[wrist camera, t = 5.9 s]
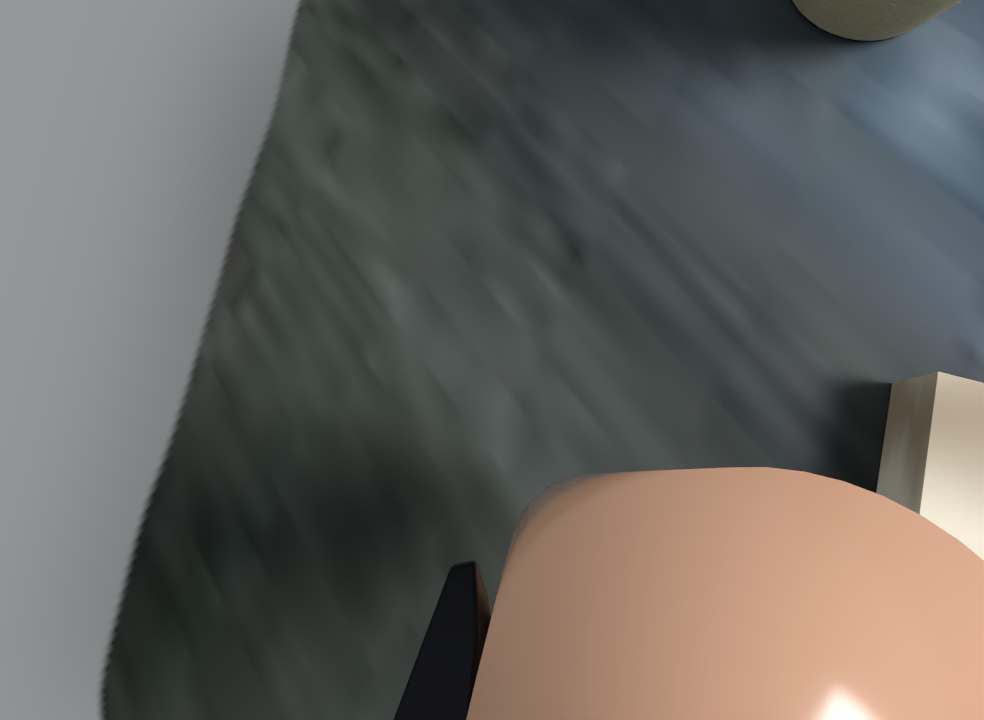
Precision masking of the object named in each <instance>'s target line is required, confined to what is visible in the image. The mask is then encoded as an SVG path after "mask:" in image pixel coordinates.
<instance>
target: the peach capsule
mask: <svg viewBox="0 0 984 720" xmlns="http://www.w3.org/2000/svg"><path fill="white" fill-rule="evenodd" d="M466 720H984V560H982V559H981V558H980V557H979V556H978V555H976V554H975V553H974V552H973V551H972V550H970V549H969V548H968V547H967V546H966V545H964V544H963V543H962V542H961V541H959V540H958V539H956V538H955V537H953V536H952V535H950V534H949V533H947V532H946V531H944V530H943V529H941V528H940V527H938V526H937V525H935V524H934V523H932V522H931V521H929V520H928V519H926V518H925V517H923V516H921V515H919V514H918V513H916V512H914V511H912V510H910V509H908V508H906V507H904V506H902V505H900V504H898V503H896V502H894V501H892V500H890V499H888V498H886V497H884V496H882V495H879V494H877V493H874V492H871V491H869V490H866V489H863V488H861V487H858V486H855V485H853V484H850V483H847V482H845V481H841V480H837V479H833V478H828V477H824V476H820V475H816V474H812V473H808V472H803V471H794V470H786V469H777V468H769V467H737V468H707V469H684V470H662V471H639V472H616V473H594V474H582V475H575V476H572V477H568V478H565V479H562V480H560V481H558V482H556V483H554V484H552V485H550V486H549V487H547V488H546V489H544V490H543V491H542V492H540V493H539V494H538V495H537V496H536V497H535V498H534V499H533V500H532V501H531V502H530V503H529V504H528V505H527V507H526V508H525V510H524V511H523V513H522V514H521V516H520V518H519V520H518V521H517V523H516V526H515V528H514V531H513V534H512V537H511V541H510V545H509V549H508V553H507V557H506V561H505V565H504V569H503V573H502V577H501V581H500V585H499V589H498V593H497V597H496V601H495V605H494V609H493V613H492V617H491V621H490V625H489V629H488V633H487V637H486V641H485V645H484V649H483V653H482V657H481V661H480V665H479V669H478V673H477V677H476V681H475V685H474V689H473V694H472V698H471V702H470V706H469V710H468V715H467V719H466Z"/></svg>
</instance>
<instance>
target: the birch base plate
mask: <svg viewBox="0 0 984 720" xmlns="http://www.w3.org/2000/svg"><path fill="white" fill-rule="evenodd" d="M876 493H877V494H879V495H882V496H884V497H886V498H888V499H890V500H892V501H894V502H896V503H898V504H900V505H902V506H904V507H906V508H908V509H910V510H912V511H914V512H916V513H918V514H919V515H921V516H923V517H925V518H926V519H928V520H929V521H931V522H932V523H934V524H935V525H937V526H938V527H940V528H941V529H943V530H944V531H946V532H947V533H949V534H950V535H952V536H953V537H955V538H956V539H958V540H959V541H961V542H962V543H963V544H964V545H966V546H967V547H968V548H969V549H970V550H972V551H973V552H974V553H975V554H976V555H978V556H979V557H980V558H981V559H982V560H984V383H982V382H978V381H974V380H970V379H966V378H962V377H958V376H954V375H950V374H946V373H942V372H935V373H931V374H927V375H923V376H919V377H915V378H911V379H907V380H903V381H899V382H895V383H892V389H891V396H890V403H889V409H888V416H887V423H886V430H885V437H884V443H883V450H882V457H881V464H880V470H879V477H878V484H877V491H876Z"/></svg>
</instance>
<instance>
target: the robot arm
mask: <svg viewBox="0 0 984 720" xmlns="http://www.w3.org/2000/svg"><path fill="white" fill-rule="evenodd" d="M490 621H491V613H490V607H489V600H488V595H487V591H486V588H485V585H484V582H483V579H482V576H481V573H480V570H479V567H478V564H477V563H476V561H467V562H463V563H458V564H454V565H453V566H452V567H451V569H450V571H449V573H448V576H447V578H446V581H445V584H444V586H443V589H442V592H441V594H440V597H439V600H438V602H437V605H436V608H435V610H434V613H433V616H432V618H431V621H430V624H429V627H428V629H427V632H426V635H425V637H424V640H423V643H422V645H421V648H420V651H419V653H418V656H417V659H416V661H415V664H414V667H413V669H412V672H411V675H410V677H409V680H408V683H407V685H406V688H405V691H404V693H403V696H402V699H401V701H400V704H399V707H398V709H397V712H396V715H395V717H394V720H466V719H467V715H468V710H469V706H470V702H471V698H472V694H473V689H474V685H475V681H476V677H477V673H478V669H479V665H480V661H481V657H482V653H483V649H484V645H485V641H486V637H487V633H488V629H489V625H490Z"/></svg>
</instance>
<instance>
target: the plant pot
mask: <svg viewBox="0 0 984 720" xmlns="http://www.w3.org/2000/svg"><path fill="white" fill-rule="evenodd" d="M792 1H793V2H794V4H795V5H796V7H797V8H798V9H799V11H800V12H801V13H802V14H803V15H804V16H805V17H806V18H807V19H808V20H810V21H811V22H812V23H814V24H815V25H817V26H818V27H819V28H821V29H823V30H825V31H827V32H829V33H831V34H835V35H838V36H841V37H844V38H849V39H854V40H866V41H873V40H884V39H888V38H892V37H896V36H899V35H902V34H904V33H907V32H908V31H910V30H912V29H914V28H916V27H917V26H919V25H921V24H923V23H925V22H926V21H928V20H930V19H932V18H934V17H935V16H937V15H939V14H940V13H942V12H944V11H945V10H947V9H949V8H951V7H952V6H954V5H956V4H957V3H959V2H961V1H962V0H792Z"/></svg>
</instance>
